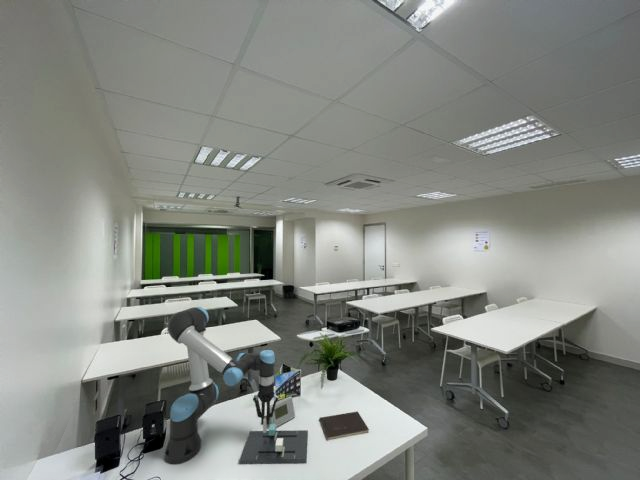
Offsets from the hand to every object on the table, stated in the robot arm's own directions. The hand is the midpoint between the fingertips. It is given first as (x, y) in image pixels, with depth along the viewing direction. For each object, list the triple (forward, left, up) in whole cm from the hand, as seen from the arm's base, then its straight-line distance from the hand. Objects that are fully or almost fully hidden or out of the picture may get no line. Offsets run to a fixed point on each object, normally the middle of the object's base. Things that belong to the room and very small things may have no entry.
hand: (265, 430), depth 126 cm
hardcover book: (+41, +10, -6) cm, 42 cm away
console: (+7, -5, -5) cm, 10 cm away
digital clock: (+7, +14, -5) cm, 16 cm away
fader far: (+4, 0, -2) cm, 4 cm away
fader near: (+9, -10, -2) cm, 14 cm away
